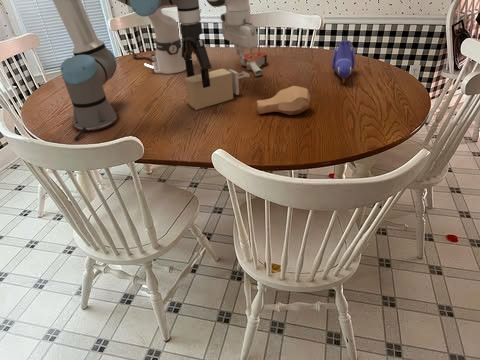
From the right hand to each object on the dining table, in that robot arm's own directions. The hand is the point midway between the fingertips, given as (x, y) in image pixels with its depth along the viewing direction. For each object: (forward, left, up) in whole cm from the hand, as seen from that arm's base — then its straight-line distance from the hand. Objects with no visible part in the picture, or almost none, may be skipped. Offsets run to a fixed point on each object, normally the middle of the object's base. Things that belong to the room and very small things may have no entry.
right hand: (240, 55), depth 140 cm
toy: (+11, +44, -15) cm, 48 cm away
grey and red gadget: (-23, +18, -15) cm, 33 cm away
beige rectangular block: (+1, -15, -15) cm, 21 cm away
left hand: (+2, -19, -6) cm, 20 cm away
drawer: (+1, -8, -14) cm, 17 cm away
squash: (+25, +4, -15) cm, 30 cm away
